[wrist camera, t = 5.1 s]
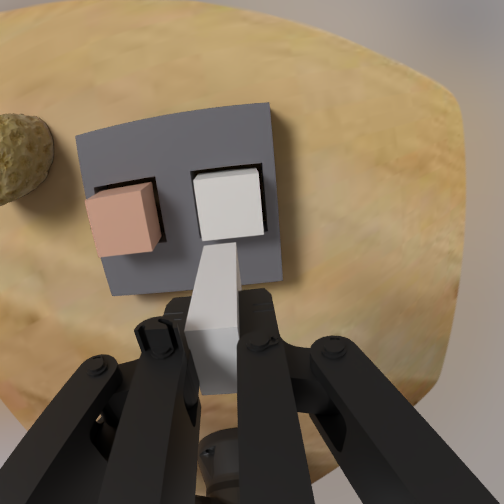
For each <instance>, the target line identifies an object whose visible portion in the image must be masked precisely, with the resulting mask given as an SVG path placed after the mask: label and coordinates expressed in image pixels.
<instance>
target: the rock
mask: <svg viewBox="0 0 504 504" xmlns="http://www.w3.org/2000/svg"><path fill="white" fill-rule="evenodd" d="M53 157H54V150H53V139H52V136H51V134H50V131H49V129H48V126H46V123H45V122H43V121H42V120H41V119H40V118H38V117H37V116H26V115H23V114H14V113H13V114H3V115H0V206H2V205H5V204H6V203H8V202H12V201H14V200H16V199H18V198H20V197H22V196H25V195H26V194H28V193H29V192H31V191H32V190H34V189H36V188H37V187H38V185H39V184H40V183H42V182H43V181H44V180H45V179H46V177H47V174H48V170H49V167H50V164H51V163H52V162H53Z"/></svg>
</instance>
